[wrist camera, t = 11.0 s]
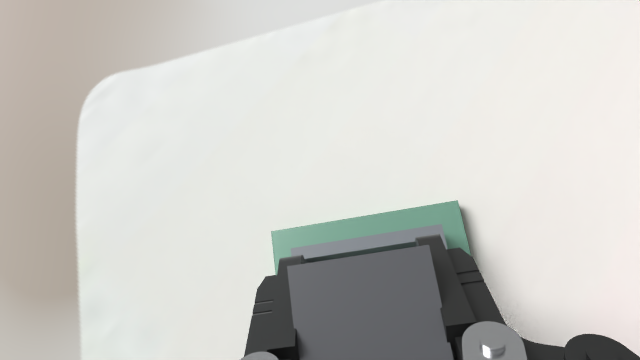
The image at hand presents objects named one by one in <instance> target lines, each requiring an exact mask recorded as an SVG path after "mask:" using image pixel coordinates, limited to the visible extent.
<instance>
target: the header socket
mask: <svg viewBox="0 0 640 360" xmlns="http://www.w3.org/2000/svg"><path fill="white" fill-rule="evenodd" d="M271 234H272V244H273V253H274V263H275V272H276V275H277V272H278V265H279V259H280V258H285V257H291V256H298V255H303V256H304V259H305V263H312V262H319V261H325V260H332V259H338V258H345V257H351V256H358V255H364V254H371V253H377V252H384V251H390V250H397V249H403V248H410V247H416V242H415V238H416V237H421V236H428V235H434V234H440V236H441V238H442V241H443V243H444V245H445V248H446V249H453V248H459V247H460V248H461V249H463V250H464V251H465V252H466V253H468V254H469V255H470V256H471V254H470V249H469V245H468V241H467V237H466V233H465V229H464V225H463V221H462V217H461V212H460V208H459V204H458V200H457V201H451V202H445V203H439V204H433V205H427V206H421V207H415V208H409V209H403V210H397V211H391V212H385V213H379V214H373V215H367V216H361V217H355V218H349V219H343V220H337V221H331V222H325V223H319V224H313V225H307V226H301V227H295V228H289V229H284V230H278V231H272V232H271Z"/></svg>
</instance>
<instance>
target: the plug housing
mask: <svg viewBox="0 0 640 360" xmlns="http://www.w3.org/2000/svg"><path fill="white" fill-rule="evenodd" d="M287 270H288V280H289V289H290V298H291V307H292V316H293V325H294V329H295V328H296V334H297V343H298V352H299V360H454V359H453V355H452V350H451V345H450V342H449V343H447V339H446V335H445V330H444V325H443V320H442V316H441V311H440V308H442V303H441V298H440V294H439V289H438V284H437V280H436V275H435V270H434V266H433V261H432V256H431V252H430V247H429V245H423V246H416V247H410V248H403V249H397V250H390V251H384V252H377V253H371V254H364V255H358V256H351V257H345V258H338V259H332V260H325V261H319V262H312V263H306V264H299V265H292V266H287Z"/></svg>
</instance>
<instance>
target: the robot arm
mask: <svg viewBox="0 0 640 360" xmlns="http://www.w3.org/2000/svg"><path fill="white" fill-rule="evenodd" d="M415 242H416V246H423V245H429V247H430V252H431V256H432V261H433V266H434V270H435V275H436V280H437V284H438V289H439V294H440V298H441V303H442V308H440V311H441V316H442V320H443V325H444V330H445V335H446V339H447V343H449V342H450V345H451V350H452V355H453V359H454V360H640V357H639V356H637V355H636V354H635V353H633V352H632V351H631V350H629V349H628V348H627V347H625V346H624V345H622V344H621V343H619V342H617V341H615V340H613V339H611V338H608V337H605V336H602V335H596V334H582V335H578V336H576V337H573V338H572V339H570V340H569V341H568V342H567V344H566V346H565V347H559V346H551V345H544V344H538V343H534V342H531V341H528V340H526V339H523V338H522V337H520V336H519V335H518V334H517V333H516V332H515V331H514V330H513V329H511V328H510V327H508V326H507V325H506V323H505V322H504V320H503V318H502V316H501V314H500V312H499V310H498V308H497V306H496V304H495V302H494V300H493V298H492V296H491V294H490V292H489V290H488V288H487V286H486V284H485V283H484V280H483V278H482V276H481V274H480V272H479V270H478V268H477V266H476V264H475V262H474V260H473V258H472V257H471V256H470V255H469V254H468V253H466V252H465V251H464V250H463V249H461V248H460V247H459V248H453V249H446V248H445V245H444V243H443V241H442V238H441V236H440V234H434V235H428V236H421V237H416V238H415ZM299 264H306V263H305V259H304V256H303V255H298V256H291V257H285V258H280V259H279V265H278V272H277V275H273V276H267V277H265V279H264V280H263V282H262V283H261V284H260V286H259V287H258V289H257V293H256V298H255V305H254V309H253V316H252V319H251V324H250V329H249V334H248V339H247V344H246V349H245V355H244V357H243V358H242V359H241V360H299V352H298V343H297V334H296V328H295V329H294V325H293V316H292V307H291V298H290V289H289V280H288V270H287V266H292V265H299Z"/></svg>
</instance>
